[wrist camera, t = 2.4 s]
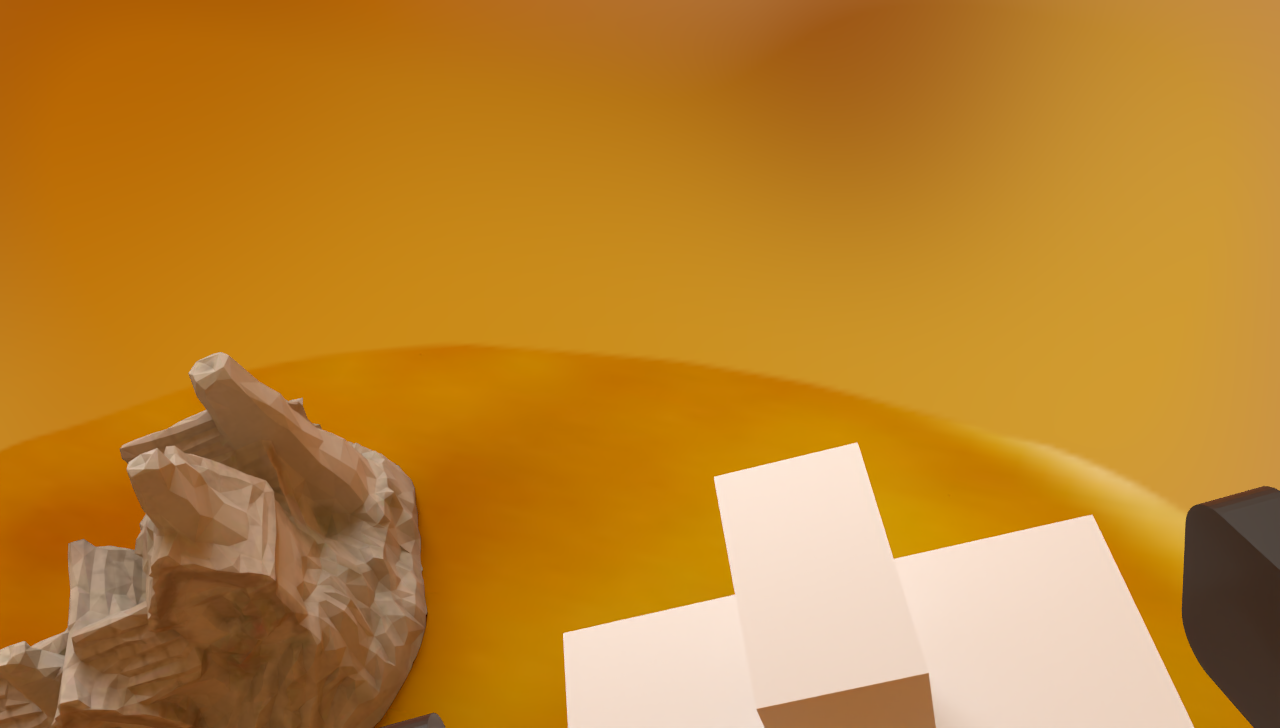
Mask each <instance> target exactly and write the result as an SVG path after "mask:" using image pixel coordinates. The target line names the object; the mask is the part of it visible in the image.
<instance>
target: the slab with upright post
mask: <svg viewBox="0 0 1280 728" xmlns="http://www.w3.org/2000/svg"><path fill="white" fill-rule="evenodd" d="M714 481H715V486H716V492H717V497H718V503H719V508H720V514H721V519H722V525H723V530H724V536H725V541H726V547H727V552H728V558H729V563H730V568H731V574H732V579H733V585H734V590H735V595H732V596H727V597H723V598H718V599H714V600H709V601H705V602H700V603H696V604H692V605H687V606H683V607H678V608H674V609H669V610H665V611H660V612H656V613H651V614H647V615H642V616H638V617H634V618H629V619H625V620H620V621H616V622H611V623H607V624H602V625H598V626H593V627H589V628H584V629H580V630H576V631H571V632H567V633H563V641H564V660H565V679H566V698H567V717H568V728H1194V726H1193V724H1192V722H1191V720H1190V718H1189V716H1188V714H1187V712H1186V710H1185V707H1184V705H1183V703H1182V701H1181V699H1180V697H1179V695H1178V693H1177V691H1176V689H1175V687H1174V684H1173V682H1172V680H1171V678H1170V676H1169V674H1168V672H1167V670H1166V668H1165V666H1164V664H1163V661H1162V659H1161V657H1160V655H1159V653H1158V651H1157V649H1156V647H1155V645H1154V643H1153V640H1152V638H1151V636H1150V634H1149V632H1148V630H1147V628H1146V626H1145V624H1144V622H1143V620H1142V617H1141V615H1140V613H1139V611H1138V609H1137V607H1136V605H1135V603H1134V601H1133V599H1132V597H1131V594H1130V592H1129V590H1128V588H1127V586H1126V584H1125V582H1124V580H1123V578H1122V576H1121V574H1120V571H1119V569H1118V567H1117V565H1116V563H1115V561H1114V559H1113V557H1112V555H1111V553H1110V550H1109V548H1108V546H1107V544H1106V542H1105V540H1104V538H1103V536H1102V534H1101V532H1100V530H1099V527H1098V525H1097V523H1096V521H1095V519H1094V517H1093V515H1088V516H1084V517H1079V518H1075V519H1071V520H1066V521H1062V522H1057V523H1053V524H1048V525H1044V526H1039V527H1035V528H1030V529H1026V530H1022V531H1017V532H1013V533H1008V534H1004V535H999V536H995V537H990V538H986V539H981V540H977V541H972V542H968V543H964V544H959V545H955V546H950V547H946V548H941V549H937V550H932V551H928V552H923V553H919V554H914V555H910V556H906V557H901V558H897V559H893V556H892V552H891V549H890V546H889V543H888V539H887V536H886V533H885V530H884V526H883V523H882V520H881V517H880V513H879V510H878V507H877V504H876V501H875V497H874V494H873V491H872V488H871V484H870V481H869V478H868V475H867V471H866V468H865V465H864V462H863V459H862V455H861V452H860V449H859V446H858V443H853V444H849V445H845V446H841V447H837V448H833V449H828V450H824V451H820V452H816V453H812V454H807V455H803V456H799V457H795V458H791V459H787V460H782V461H778V462H774V463H770V464H766V465H762V466H757V467H753V468H749V469H745V470H741V471H737V472H732V473H728V474H724V475H720V476H716V477H714Z"/></svg>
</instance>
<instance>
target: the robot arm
mask: <svg viewBox="0 0 1280 728" xmlns="http://www.w3.org/2000/svg"><path fill="white" fill-rule="evenodd" d="M1182 619H1183V625H1184V629H1185V633H1186V636H1187V639H1188V641H1189V644H1190V646H1191V648H1192V650H1193V652H1194V654H1195V656H1196V658H1197V660H1198V661H1199V663H1200V665H1201V666H1202V668H1203V669H1204V670H1205V672H1206V673H1207V674H1208V675H1209V677H1210V678H1211V679H1212V680H1213V681H1214V682H1215V683H1216V685H1217V686H1218V687H1219V688H1220V689H1221V690H1222V692H1223V693H1224V694H1225V695H1226V696H1227V697H1228V698H1229V700H1230V701H1231V702H1232V703H1233V704H1234V705H1235V706H1236V708H1237V709H1238V710H1239V711H1240V712H1241V713H1242V715H1243V716H1244V717H1245V718H1246V719H1247V720H1248V721H1249V723H1250V724H1251V725H1252V726H1253V727H1254V728H1280V491H1279V490H1277V489H1275V488H1272V487H1268V486H1263V487H1259V488H1256V489H1252V490H1248V491H1245V492H1241V493H1238V494H1234V495H1230V496H1227V497H1223V498H1219V499H1216V500H1213V501H1209V502H1205V503H1201V504H1198V505H1195V506H1193V507H1192V508H1191V509H1190V510H1189V512H1188V514H1187V517H1186V527H1185V551H1184V574H1183V597H1182ZM381 728H445V725H444V724H443V722H442V720H441V718H440V717H439V716H438V715H437V714H436V713H431V714H428V715H424V716H420V717H417V718H413V719H410V720H406V721H402V722H399V723H395V724H391V725H388V726H384V727H381Z"/></svg>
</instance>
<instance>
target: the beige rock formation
mask: <svg viewBox="0 0 1280 728" xmlns="http://www.w3.org/2000/svg"><path fill="white" fill-rule="evenodd" d="M189 376H190V379H191V382H192V384H193V387H194V390H195V392H196V395H197V397H198V399H199V400H200V401H201V403H202V404H203V405H204V407H205V408H206V409H207V410H205V411H202V412H200V413H198V414H195V415H193V416H191V417H188V418H186V419H184V420H181V421H179V422H178V423H176V424H175V425H173V426H171V427H170V428H168V429H165V430H162V431H159V432H155V433H152V434H149V435H147V436H144V437H141V438H138V439H136V440H133V441H131V442H129V443H127V444H124V445H123V446H122V447H121V448H120V452H121V456H122V459H123V460H125V461H126V462H127V463H128V467H127V472H128V475H129V478H130V481H131V484H132V486H133V489H134V491H135V494H136V496H137V498H138V500H139V502H140V505H141V507H142V509H143V510H144V512H145V513H146V515H145V517H144V518H143V520H142V521H141V522H140V528H141V532H140V534H139V536H138V538H137V540H136V546H135V550H132V549H126V548H120V547H114V546H103V547H95V546H93V545H92V544H90V543H89V542H88V541H86V540H85V539H82V540H78V541H75V542H71V543H69V544H68V565H69V567H68V570H69V577H70V589H71V590H70V604H69V619H68V628H67V629H66V630H65V631H64V632H63V633H61V634H58V635H55V636H53V637H50V638H48V639H45V640H43V641H40V642H39V643H37V644H35V645H33V646H31V647H30V646H29V645H28V644H27V643H26V642H25V641H23V642H20V643H17V644H14V645H11V646H8V647H6V648H3V649H1V650H0V728H373V727H374V726H375V725H376V724H377V723H378V722H379V721H380V720H381V719H382V718H383V716H384V715H385V713H386V711H387V710H388V708H389V707H390V705H391V704H392V702H393V700H394V699H395V697H396V695H397V693H398V692H399V690H400V688H401V687H402V685H403V683H404V682H405V680H406V678H407V675H408V674H409V672H410V670H411V668H412V663H413V661H414V660H415V658H416V656H417V653H418V651H419V648H420V645H421V642H422V638H423V634H424V631H425V627H426V614H427V607H426V602H425V592H424V583H423V577H422V572H421V571H422V570H423V569H422V566H421V559H420V553H421V536H420V533H419V530H418V512H417V507H416V499H415V488H414V486H413V483H412V481H411V479H410V478H409V477H408V476H407V475H406V474H405V473H404V472H403V471H402V470H401V468H400V467H399V466H398V465H396V464H395V463H393V462H391V461H390V460H388V459H387V458H386V457H385V456H383V455H382V454H381V453H377V452H376V451H372V450H370V449H368V448H365V447H363V446H361V445H359V444H358V443H354V444H353V443H351V442H347V441H346V440H345V439H343V438H341V437H339V436H337V435H335V434H332V433H330V432H327V431H324V430H322V429H321V426H320V425H319V424H312V423H311V422H310V421H309V420H308V419H307V416H306V413H305V411H304V408H303V398H300V399H296V400H294V399H293V400H290V401H287V400H285V399H284V398H283V396H282V395H281V394H280V393H278V392H276V391H275V390H273V389H271V388H269V387H267V386H266V385H264V384H262V383H260V382H259V381H258V380H257V379H255V378H254V377H253V376H252V375H251V374H250V373H249V372H247V371H246V370H245V369H244V368H243V367H242V366H240V365H239V364H238V363H237V362H236V361H235V360H233V359H232V358H231V357H230V356H228V355H226V354H224V353H222V352H219V353H215V354H212V355H210V356H207V357H205V358H203V359H201V360H199V361H197V362H196V363H195V365H194V366H193V367H192V369H191V370H190V372H189Z"/></svg>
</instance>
